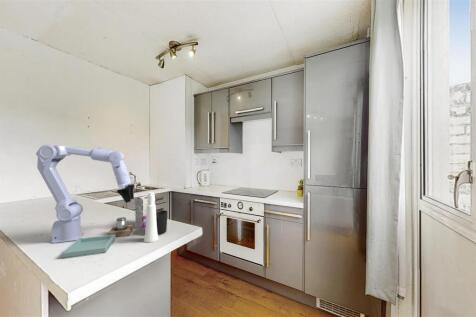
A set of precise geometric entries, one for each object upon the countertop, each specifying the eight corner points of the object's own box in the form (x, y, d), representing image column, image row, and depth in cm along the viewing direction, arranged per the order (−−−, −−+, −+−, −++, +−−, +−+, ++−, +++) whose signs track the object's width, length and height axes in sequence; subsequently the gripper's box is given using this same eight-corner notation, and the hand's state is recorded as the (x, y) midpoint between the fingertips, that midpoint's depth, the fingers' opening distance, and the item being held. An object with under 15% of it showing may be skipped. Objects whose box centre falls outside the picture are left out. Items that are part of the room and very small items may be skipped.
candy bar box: (148, 221, 113) (148, 194, 112) (156, 222, 112) (155, 194, 111) (134, 228, 102) (134, 197, 102) (142, 229, 101) (142, 198, 101)
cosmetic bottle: (143, 243, 83) (143, 193, 83) (144, 238, 89) (144, 191, 89) (158, 241, 86) (158, 192, 86) (158, 236, 91) (158, 190, 91)
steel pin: (115, 235, 92) (115, 220, 92) (117, 232, 96) (117, 217, 96) (124, 234, 94) (124, 219, 94) (126, 231, 97) (126, 217, 97)
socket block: (107, 238, 89) (107, 233, 89) (113, 231, 98) (113, 226, 98) (129, 235, 92) (129, 230, 92) (133, 229, 100) (133, 224, 100)
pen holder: (160, 236, 91) (160, 215, 91) (143, 235, 93) (143, 214, 93) (170, 229, 100) (170, 210, 100) (155, 228, 102) (155, 209, 102)
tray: (61, 258, 71) (61, 253, 71) (79, 242, 84) (79, 238, 84) (105, 252, 76) (105, 247, 76) (115, 238, 89) (115, 234, 89)
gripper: (127, 173, 89) (135, 200, 91) (133, 171, 103) (140, 195, 104) (110, 178, 87) (119, 205, 88) (118, 175, 101) (126, 199, 102)
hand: (130, 200), depth 96 cm, fingers open, 7 cm apart
